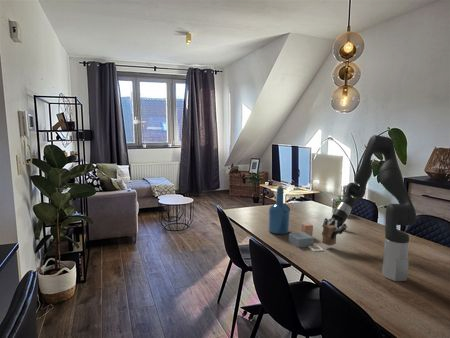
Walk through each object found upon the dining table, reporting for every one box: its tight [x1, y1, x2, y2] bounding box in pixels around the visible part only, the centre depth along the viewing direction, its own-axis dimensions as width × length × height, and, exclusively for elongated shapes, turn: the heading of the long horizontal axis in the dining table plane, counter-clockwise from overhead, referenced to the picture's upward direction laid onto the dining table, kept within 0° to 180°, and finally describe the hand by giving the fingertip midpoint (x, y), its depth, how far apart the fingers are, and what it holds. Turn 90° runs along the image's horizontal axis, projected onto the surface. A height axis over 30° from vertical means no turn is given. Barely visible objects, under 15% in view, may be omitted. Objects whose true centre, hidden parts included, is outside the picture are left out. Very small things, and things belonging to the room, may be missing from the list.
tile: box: [307, 245, 324, 253], centre depth 166 cm, size 6×6×1 cm
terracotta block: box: [300, 222, 314, 237], centre depth 185 cm, size 5×5×8 cm
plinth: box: [288, 231, 315, 248], centre depth 174 cm, size 10×10×5 cm
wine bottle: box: [267, 184, 291, 235], centre depth 192 cm, size 14×13×30 cm
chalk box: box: [331, 194, 343, 214], centre depth 235 cm, size 9×9×15 cm
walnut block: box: [321, 225, 337, 246], centre depth 167 cm, size 5×5×10 cm
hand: (327, 236), depth 166 cm, fingers closed on walnut block, 5 cm apart
